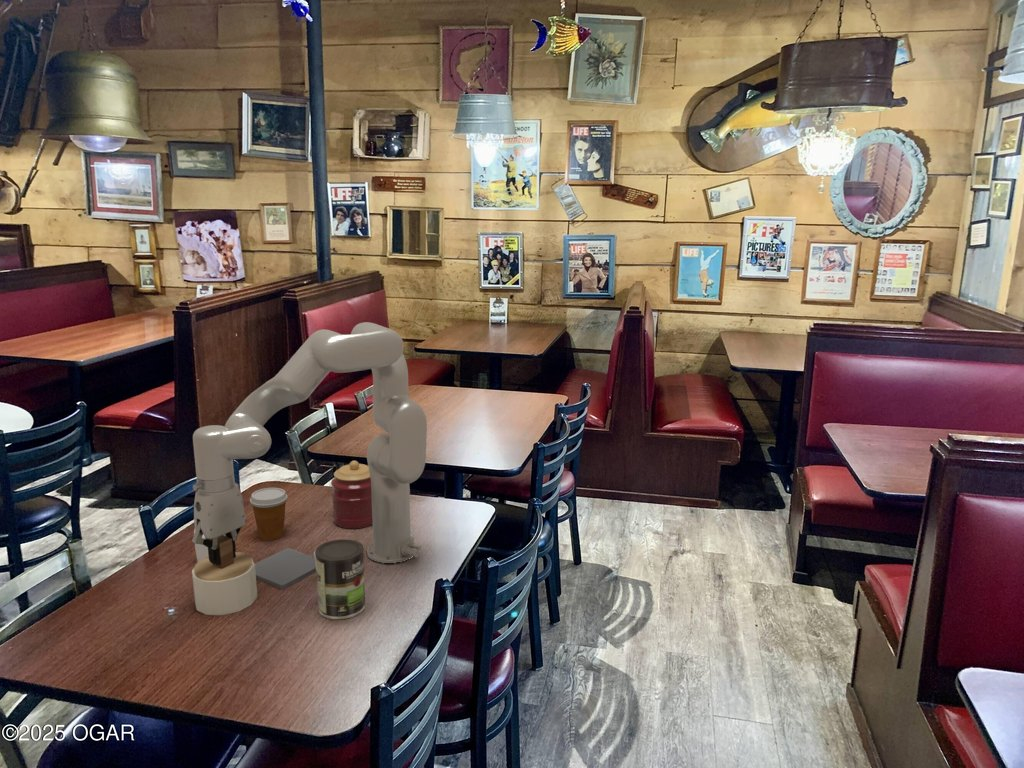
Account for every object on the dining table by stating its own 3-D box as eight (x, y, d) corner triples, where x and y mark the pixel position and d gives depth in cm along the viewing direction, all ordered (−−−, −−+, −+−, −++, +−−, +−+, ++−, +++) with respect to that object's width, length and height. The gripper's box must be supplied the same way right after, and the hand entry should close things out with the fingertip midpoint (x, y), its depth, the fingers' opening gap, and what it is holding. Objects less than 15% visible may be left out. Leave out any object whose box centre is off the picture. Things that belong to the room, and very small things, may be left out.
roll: (222, 512, 184) (207, 521, 179) (225, 556, 187) (211, 566, 182) (201, 509, 186) (186, 518, 181) (205, 552, 189) (190, 562, 183)
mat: (327, 565, 183) (326, 561, 183) (282, 589, 171) (282, 585, 171) (288, 551, 190) (287, 547, 190) (242, 573, 179) (242, 569, 178)
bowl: (268, 595, 169) (266, 563, 167) (220, 621, 158) (217, 587, 156) (231, 580, 175) (229, 549, 173) (183, 604, 165) (179, 571, 163)
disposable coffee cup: (244, 539, 197) (241, 497, 194) (269, 525, 205) (266, 484, 202) (273, 545, 193) (270, 503, 190) (297, 531, 202) (294, 490, 199)
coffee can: (375, 603, 166) (373, 546, 163) (342, 625, 157) (339, 564, 154) (341, 590, 171) (339, 534, 168) (308, 610, 163) (304, 552, 159)
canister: (357, 506, 218) (355, 450, 214) (389, 518, 211) (387, 459, 207) (323, 521, 208) (320, 462, 204) (355, 533, 201) (352, 472, 196)
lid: (263, 563, 167) (261, 536, 165) (217, 586, 157) (214, 557, 155) (229, 550, 173) (226, 523, 171) (182, 571, 163) (179, 542, 161)
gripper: (193, 498, 151) (201, 579, 156) (258, 474, 165) (264, 550, 169) (170, 490, 155) (179, 570, 160) (236, 468, 169) (242, 542, 173)
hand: (222, 559), depth 164 cm, fingers closed on lid, 3 cm apart
